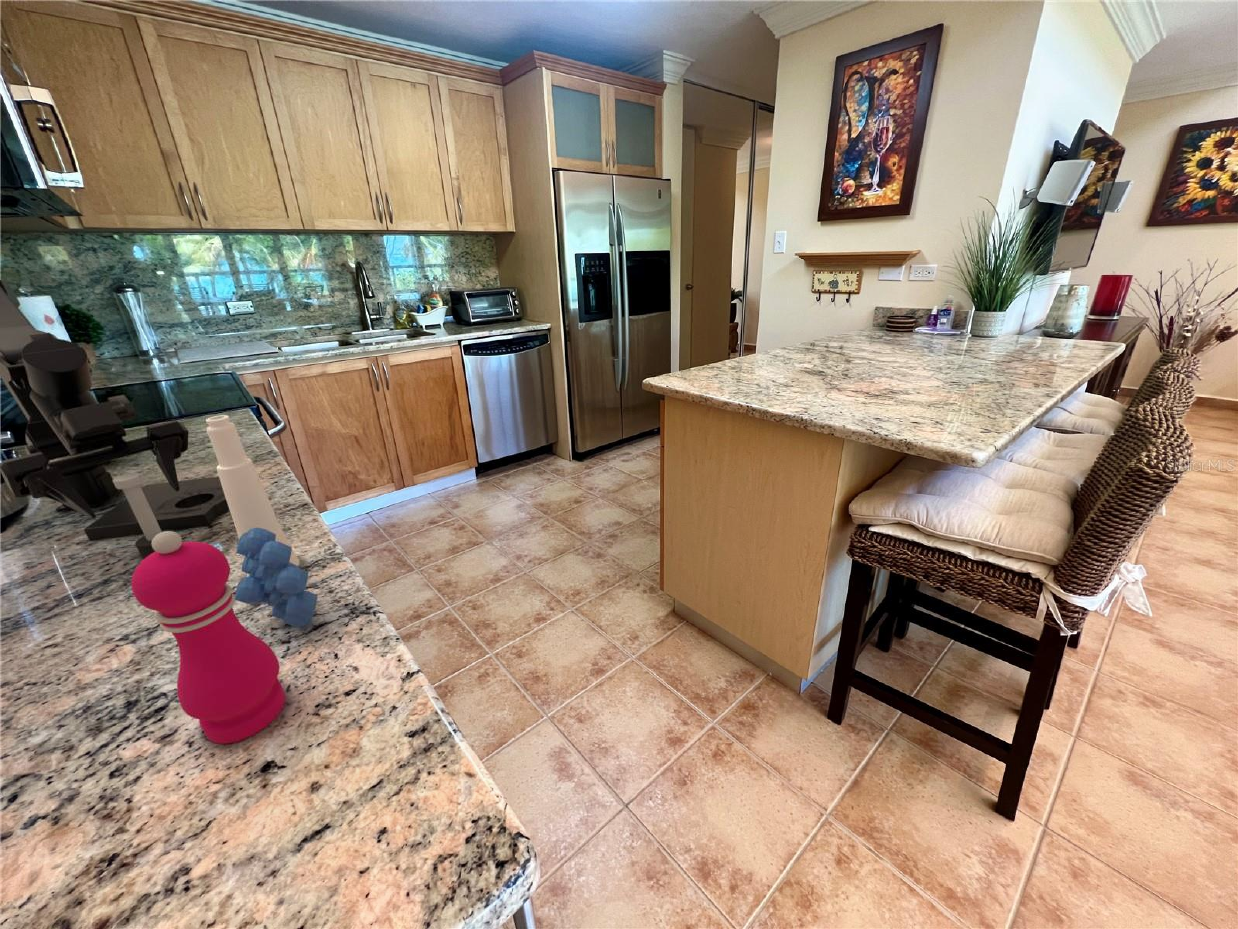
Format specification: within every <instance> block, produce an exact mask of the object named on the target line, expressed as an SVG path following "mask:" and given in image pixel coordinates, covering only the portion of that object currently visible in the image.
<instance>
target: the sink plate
mask: <svg viewBox="0 0 1238 929" xmlns="http://www.w3.org/2000/svg"><path fill="white" fill-rule="evenodd" d="M178 483H179V491H175V490H174V489H173V488H172V487H171V485H170V484H169V482H168V481H167V482H158V483H149V484H148V483H147V484H145V485H144V486H142V487H141V489H142V491H143V493H144V495H145V497H146V499H147V501H148V503H149V506H150V508H151V510H152V512H153V514H154V516H155V518H156V520H157V523H158V525H159V527H160V529H161V530H173V531H175V530H180V529H188V528H195V527H197V528H198V527H204V526H210V524H212V522H213V521H215V519H216V518H217V517H219V516H221V515H222V514H224V513H226V512H228V511H230V509H229V506H228V503H227V500H226V497H225V494H224V491H223V488H222V485H221V482H220V478H219V476H212V477H211V476H210V477H202V478H195V479H186V480H178ZM83 531H84V533H85V535H86V537H87V538H88V540H89V541H97V540H104V539H112V538H118V537H125V536H126V537H127V536H134V535H141V534H144V533H143V531H142V529H141V527H140V525H139V522H138V520H137V518H136V516H135V514H134V512H133V510H132V508H131V506H130V504H129V502H128V500H127V498H126V499H124V500H122V501H121V502H119V504H117V505H116V506H114V507H113V508H111V509H110V510H109V511H107V512H106V513H104V514H103V515H101V516H100V517H99V518H97V519H96V520H95V521H93V522H92V523H91V524H89V525H88V526H86V527H85V528H84V529H83Z"/></svg>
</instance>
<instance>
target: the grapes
mask: <svg viewBox="0 0 1238 929" xmlns="http://www.w3.org/2000/svg"><path fill="white" fill-rule="evenodd" d="M275 539H276V534H274V533H272V532H270V531H268V530H266V529H262V528H252V529H250V530H249V531H248V532H247V533H243V535H242V536H241V537H240V539H239V538H238V543H237V546H236V554H238V555H241V556H245V558H244V557H243V561H242V565H241V572H243V573H245V574H246V575H247V574H249V577H247V576H245V577H242V578H241V579H240V580H239V582H238V583H237V586H236V590H235V594H234V596H235V601H238V602H241V603H244V604H247V605H252V606H256V605H258V604H262V603H265V604H266V605H268V606H269V607H272V610H271V611H272V612H271V616H272V617H274V618H276V619H280V620H282V621H283V620H284V621H283V623H284V624H286V625H289V626H292V627H296V628H301V629H302V628H305V627H308V626H310V624H311V623H312V622H313V619H314V615H315V614H314V613H315V612H316V608H317V603H318V594H316V593H314V592H311V591H310V590H309V591H308V590H306V588H307V584H308V580H309V571H307V570H305V569H303V568H301V567H300V565H299V566H297V565H295V564H292V563H290V562H289V561H290V557H291V550H293V547H292V546H291V545H290V546H287V545H285V544H283V543H281V542H277V541H275Z"/></svg>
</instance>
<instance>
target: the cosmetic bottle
mask: <svg viewBox="0 0 1238 929" xmlns="http://www.w3.org/2000/svg"><path fill="white" fill-rule="evenodd" d="M230 420H231V419H230V416H229V415H223V414H222V415H221V414H220V415H215V416H211V417H208V418H206V419H205V422H206V425H208V426H207V427H206V433H207V436H208V439H209V441H210V444H211V446H212V449H213V451H214V454H215V456H216V459H217V462H218V464H217V466H216V473H217V475H218V477H219V478H220V482H221V485H222V488H223V491H224V494H225V497H226V500H227V503H228V506H229V512H230V514H231V515H230V516H231V518H232V519H231V520H232V521H233V524H234V528H235V532H236V534H237V537H238V538H237V539H238V540H239V539H240V537H241V536H242V535H243V533H247V532H248V531H249V530H250V529H252V528H262V529H266V530H268V531H270V532H272V533H274V534H276V539H275V541H277V542H281V543H283V544H285V545H287V546H290V547H291V545H290V543H289V541H288V539H287V537H286V536H285V533H284V531H283V529H282V527H281V525H280V523H279V521H278V518H277V516H276V513H275V510H274V508H273V507H272V504H271V502H270V500H269V497H268V494H267V492H266V489H265V487H264V485H263V482H262V479H261V478H260V475H259V473H258V471H257V469H256V468H257V467H256V466H255V463H254V461H253V460H252V459H251V458H249V457H247V454H246V452H245V449H244V447H243V444H242V440H241V438H240V435H239V433H238V430H237V426H236V425H235V424H234V423H233V422H231V421H230ZM242 556H243V555H242ZM244 558H245V556H243V559H244ZM289 562H290V563H292V564H295V565H297V566H299V567H300V560H299V558H298V556H297V555H296V553H295V552H294V550H293V549H292V550H291V557H290V561H289ZM246 577H249V574H247V573H246Z"/></svg>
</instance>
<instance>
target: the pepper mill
mask: <svg viewBox="0 0 1238 929" xmlns="http://www.w3.org/2000/svg"><path fill="white" fill-rule="evenodd" d="M182 538H183V537H182V536H181V535H180V534H179V533H177V532H172V531H165V532H161V533H159V534H157V535H156V536H155V537H154V538H153V540H152V543H151V544H152V548H153V549H154V550H155V552H154V553H152V554H150V555H149V556H147V557H146V558H145V559H142V560H141V561H140V562H139V564H138V565H137V566H136V567H135V569H134V571H133V573H132V576H131V582H130V583H131V590H132V594H133V596H134V597H135V599H136V601H137V602H138V604H140V605H141V606H143V607H145V608H146V609H148V610H151V611H155V612H154V613H155V614H154V615H155V616H154V617H155V619H156V620H157V621H158V622H159V627H160V628H161V630H163V631H164V632H167V633H171V634H172V636H173V637H174V639H175V640H176V643H177V647H178V651H179V658H180V659H179V671H178V677H177V680H176V681H177V682H176V687H177V688H176V689H177V690H176V691H177V698H178V701H179V703H180V706H181V709H182V711H183V712H184V713H185V714H186V715H187V716H188V717H191V718H192V719H195V720H198V721H199V725H200V727H201V730H202V731H203V734H205V737H206V739H207V740H208V741H210V742H212V743H215V744H232V743H236V742H240V741H242V740H245V739H247V738H250V737H253V736H254V735H256V734H257V733H259V732H260V731H262V730H263V729H265V728H266V727H267V726H269V725H270V724H271V723H272V722H273V721H274V720H275V719H276V718H277V717H278V715H279V714H280V713H281V711H282V710H283V708H284V706H285V703H286V694H285V693H286V692H285V691H284V688H283V686H282V684H281V681H280V680H279V679H278V677H279V673H280V662H279V660H278V659H279V658H278V657H277V655H276V654H275V652H274V650H273V649H272V648H271V647H270V646H269V644H267V643H266V642H265V641H264V640H263V639H261V638H260V637H258V636H257V635H255V634H254V633H252V632H251V631H249V630H248V629H246V628H245V627H244V625H243V624H242V623H241V622H240V620H239V619H238V617H237V615H236V613H235V611H234V605H235V603H236V600H235V594H234V593H233V589H232V587H231V585H230V584H228V583H227V582H228V580H229V578H230V575H231V567H230V566H231V565H230V564H229V561H228V559H227V557H226V556H225V554H224V552H223V551H221V550H220V549H219V548H218V547H217V546H214V545H212V544H210V543H207V542H203V541H202V542H201V541H183V539H182Z"/></svg>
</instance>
